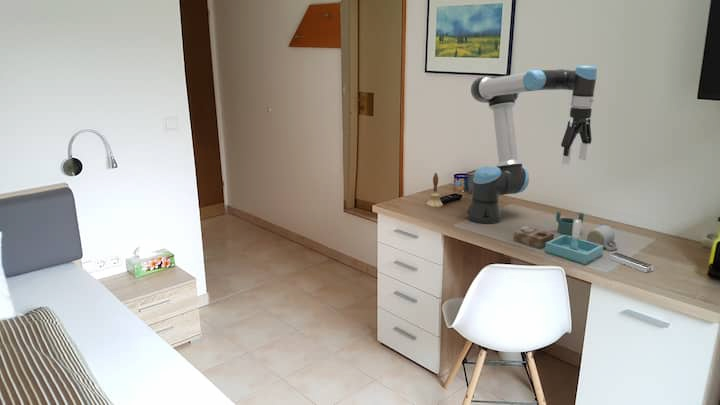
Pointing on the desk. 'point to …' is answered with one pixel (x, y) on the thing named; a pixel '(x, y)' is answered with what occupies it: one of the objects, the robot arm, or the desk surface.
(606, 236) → the ceramic mug
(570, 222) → the bracket
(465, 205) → the desk surface
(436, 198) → the hand bell
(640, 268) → the multiport hub
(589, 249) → the tray
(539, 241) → the brown wooden block
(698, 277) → the desk surface
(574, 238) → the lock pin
